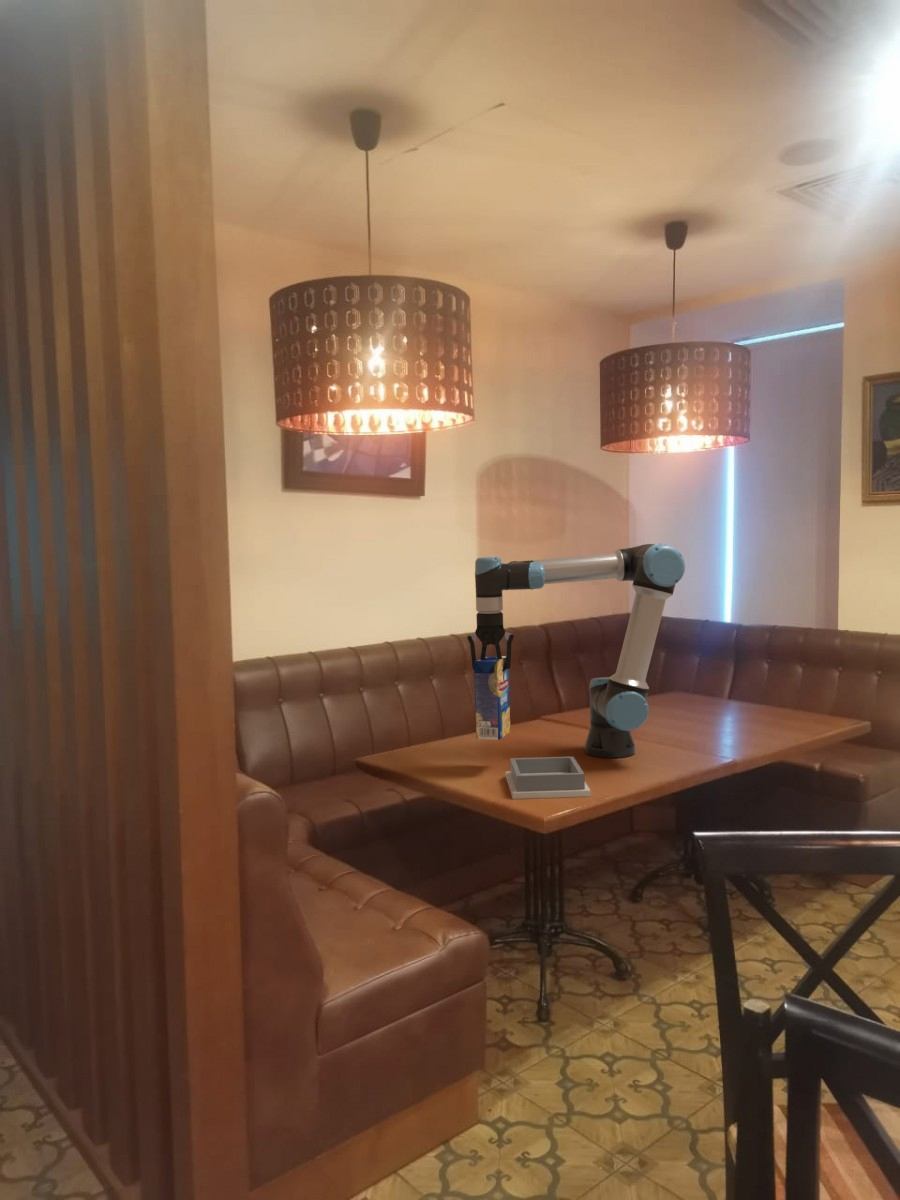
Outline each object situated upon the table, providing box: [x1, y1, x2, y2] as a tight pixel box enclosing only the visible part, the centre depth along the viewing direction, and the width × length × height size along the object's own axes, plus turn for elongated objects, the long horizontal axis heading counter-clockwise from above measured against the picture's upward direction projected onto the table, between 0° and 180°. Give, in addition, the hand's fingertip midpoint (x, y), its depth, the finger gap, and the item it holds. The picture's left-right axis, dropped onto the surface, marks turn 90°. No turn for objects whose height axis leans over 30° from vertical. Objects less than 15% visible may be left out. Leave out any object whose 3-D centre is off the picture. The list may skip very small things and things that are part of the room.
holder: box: [505, 756, 592, 800], centre depth 227 cm, size 20×20×6 cm
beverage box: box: [473, 655, 511, 741], centre depth 242 cm, size 7×11×22 cm, turn 160°
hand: (492, 693), depth 242 cm, fingers closed on beverage box, 3 cm apart
